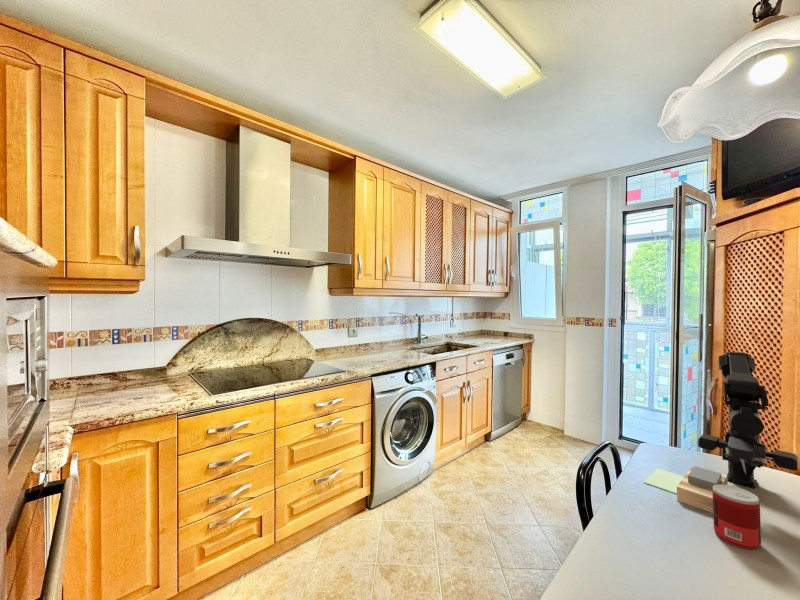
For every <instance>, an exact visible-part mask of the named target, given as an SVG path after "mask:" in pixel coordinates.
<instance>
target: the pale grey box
mask: <svg viewBox="0 0 800 600" xmlns="http://www.w3.org/2000/svg"><path fill="white" fill-rule="evenodd" d="M693 466H694V468H693V469H692V470H691V472H690V473H689V474H688V482H689V483H692V484H696V485H699V486H702V487H705V488H708V489H712V490H713V486H714V485H718V484H720V483H721V481H722V474H723V473H722V472H718V471H713V470H710V469H708V468H703V467H700V466H697V467H696V465H693ZM721 473H722V474H721Z"/></svg>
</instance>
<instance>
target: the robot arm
mask: <svg viewBox="0 0 800 600" xmlns="http://www.w3.org/2000/svg"><path fill="white" fill-rule="evenodd" d="M755 359H756V358H753V357H751V356H750V355H749V353H746V352H741V351H725V354H722V355H720V356H719V355H718V360H717V361H718V370H720V371H721V376H722V378H723V379H724V380H725V381H723V398H724V405H725V406H728V412H729V413H728V417H729V430H728V431H727V432H726V434H725V435H724V440H721V439H720V437H719V436H715V435H711V434H706V433H703V434H700V436H699V437H698V439H697V446H698V448H701V449H704V450H707V451H711V452H712V451H714V450H716V449H717V448H719V449H721V457H722V458H721V459H722V461H727V468H728V469H727V471H728V472H727V474H726V475H727V482H732V483H734V484H738V485H742V486H746V487H749V488H752V489H756V486H757V484H758V480H757V479H756V478H755V469H756V468H759V469H761V468H763V467H764V466H765V464H766V461H767V460H770V461H772V462H773V464H775V465H776V466H777V467H778V468H781V469H786V470H790V471H793V472H794V471H795V472H797V471H798V470H799V456H797V455H796V454H795V453H792V452H790V451H783V450H779V449H774V452H771V451H767V448H766V444H763V443H761V442H760V441H761V440H760V437H761V436H760V434H761V433H763V431H764V428H765V426H764V423H763V421H762V419H761V417H760V414H759V413H760V411H759V410H763V411H766V410H767V408H766V407H769V400H768V392H767V390H766V389H765V386H763V385H760V381H759V379H758V378H757V377H755V376H753V374H755V372H756V363H755V362H756V361H755Z"/></svg>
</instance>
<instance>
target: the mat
mask: <svg viewBox="0 0 800 600" xmlns="http://www.w3.org/2000/svg"><path fill="white" fill-rule="evenodd" d="M684 476H685V475H684ZM684 476H683V475H679V474H677V473H674V472H670V471H667V470H664V469H661V468H656V469H655V470H654V471H652V473H651V474H650V475H649V476H648V477H647V478H646V479H645V480H644V482H643V484H646V485H650V486H652V487H655V488H658V489H660V490H664V491H667V492H669V493H672V494H674V495H677V485H678V484H679V483H680V481H681V480H682V479H683V478H684Z"/></svg>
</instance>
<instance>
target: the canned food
mask: <svg viewBox="0 0 800 600" xmlns="http://www.w3.org/2000/svg"><path fill="white" fill-rule="evenodd" d="M712 515H713V517H712V518H713V529H714V532H715V534H716V536H717V537H719V539H721V540H722V541H724V542H726V543H728V544H729V545H732V546H735V547H738V548H741V549H744V550H752V551H754V550H758V549H760V547H761V545H762V528H761V502H760V498H759V496H757V495H756V494H755V493H753V492H751V491H748V490H746V489H744V488H740V487H737V486H733V485H722V484H718V485H714V486H713V513H712Z"/></svg>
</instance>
